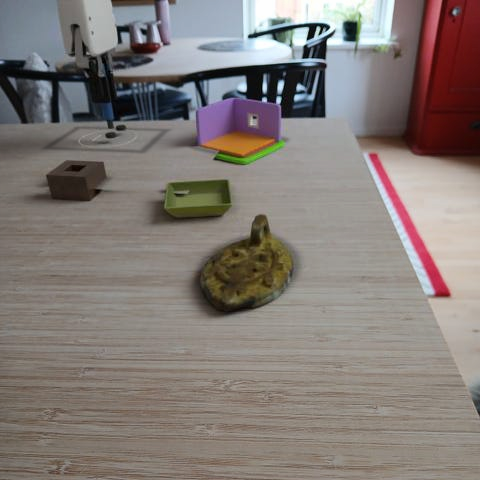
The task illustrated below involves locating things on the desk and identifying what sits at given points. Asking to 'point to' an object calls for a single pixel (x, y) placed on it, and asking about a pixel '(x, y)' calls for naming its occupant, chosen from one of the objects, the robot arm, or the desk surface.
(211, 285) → the seal
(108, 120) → the blue rod
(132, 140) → the ring
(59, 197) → the stand
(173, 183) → the green rectangular tray
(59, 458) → the desk surface
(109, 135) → the dot
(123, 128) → the dot
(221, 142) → the miniature room corner
